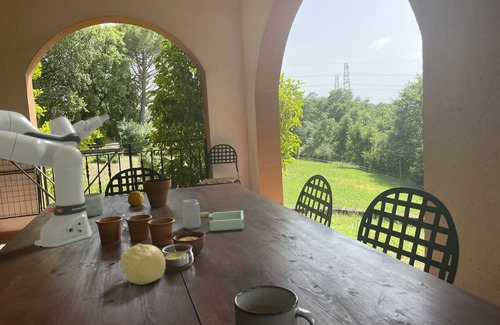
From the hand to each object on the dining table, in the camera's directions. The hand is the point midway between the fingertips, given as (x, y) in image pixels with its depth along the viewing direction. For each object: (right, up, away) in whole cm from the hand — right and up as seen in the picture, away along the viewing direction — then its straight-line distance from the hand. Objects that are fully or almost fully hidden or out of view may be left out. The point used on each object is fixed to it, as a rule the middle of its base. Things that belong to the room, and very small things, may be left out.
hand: (108, 115), depth 203 cm
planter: (-10, -52, +4) cm, 54 cm away
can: (+48, -53, -33) cm, 79 cm away
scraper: (+49, -51, -15) cm, 72 cm away
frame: (+63, -51, -33) cm, 88 cm away
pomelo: (+43, -59, -89) cm, 115 cm away
